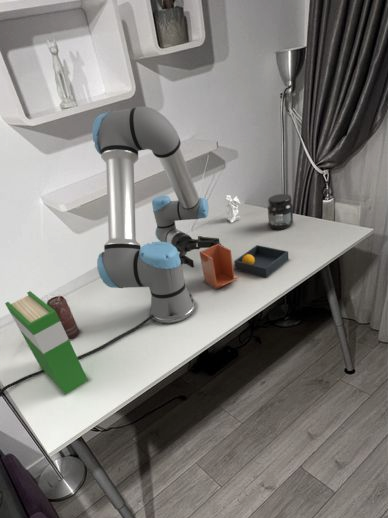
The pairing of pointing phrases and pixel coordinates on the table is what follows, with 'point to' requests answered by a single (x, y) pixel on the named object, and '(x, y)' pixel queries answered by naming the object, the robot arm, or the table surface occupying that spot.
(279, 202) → the supplement container
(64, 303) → the can
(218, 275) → the orange open box
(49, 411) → the table surface
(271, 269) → the tray
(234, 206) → the white figurine
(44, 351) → the hardback book
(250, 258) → the ball
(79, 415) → the table surface
